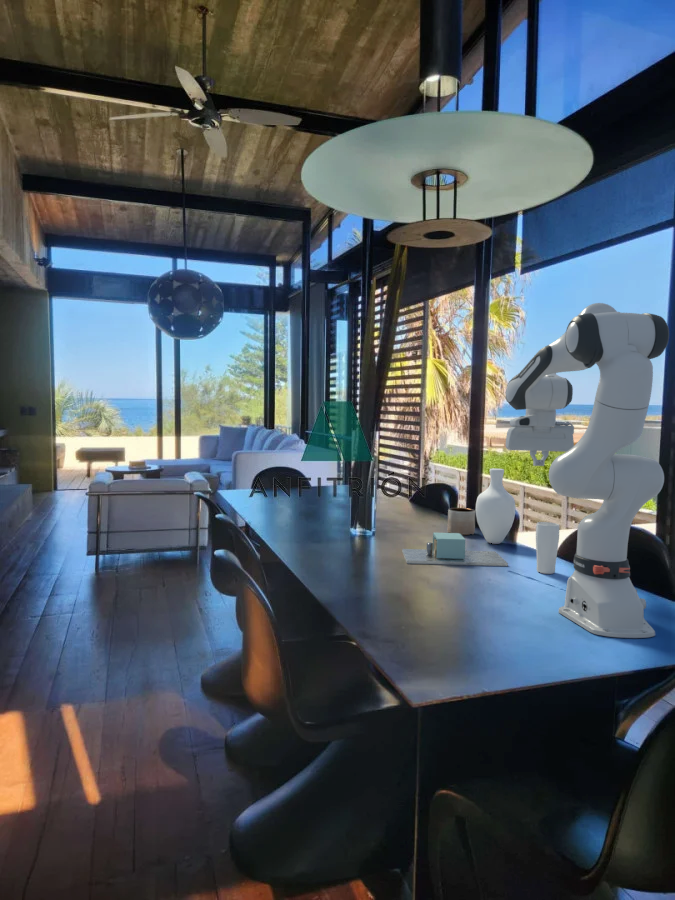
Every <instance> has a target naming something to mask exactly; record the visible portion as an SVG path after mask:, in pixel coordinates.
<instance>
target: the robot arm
mask: <svg viewBox="0 0 675 900" xmlns="http://www.w3.org/2000/svg"><path fill="white" fill-rule="evenodd" d="M669 339H670V328H669V325H668V323H667V322H666V320H665V319H664V318H663V317H662V316H661V315H659V314H658V315H657V314H654V313H648V312H645V313H637V312H620V311H617V310H616V309H615V308H614V306H612V305H609V304H608V303H603V302H596V303H592V304H589V305H588V306H586V307H584V308H583V310H582V311H580V312H579V313H578V314H577V315H576V316H574V317H573V318H572V319H570V321H569V323H568V324H567V327H566V331H565V332H564V333H563V334H562V335H561V336H560V337H558V338H557V339H556V340H554V341H553V342H551V343H549V344H548V345H546V346H544V347H542V348H540V350H538V351H537V352H536V353H535V354H534V356H533V357H532V358H531V359H530V360H529V362H528V363H527V364H526V365H524V367H523V368H522V369H521V370H520V372H519V373H518V374H516V375H514V376H513V377H512V378H511V379H510V380H509V381H508V383H507V385H506V390H505V399H506V402H507V403H508V405H509V406H510V407H512V408H513V409H515V411H521V410H523V411H525V415H522V416H519V417H515V418H512V419H510V420H509V425H510V426H511V427H510V426H509V428H508V429H507V433H506V436H505V437H506V438H505V448H506V449H507V450H508V451H522V452H523V451H529V456H530V457H531V459H532V461H533V462H532V463H533V464H532V466H533V467H545V464H546V463H545V461H546V459H547V458H548V457H549V454H550V453H549V452H564V453H561V454H559V455H558V456H557V457H555V459H554V460H553V461H552V463H551V464H550V466H549V471H548V480H549V484H550V486H551V488H552V489H553V491H555V493H556V494H558V495H561V496H564V497H569V498H572V499H573V498H574V499H579V500H582V499H583V500H603V501H602V504H601V506H600V507H599V509H598V510H597V511H595V512H593V513H590V514H588V515H586V516H584V517H583V518H582V519H581V520H580V522H579V523H578V525H577V538H576V539H577V540H576V552H575V554H574V557H573V568H574V571H573V573H572V574H571V575H570V576H569V577H568V579H567V583H566V590H565V597H564V598H565V599H564V606H563V605H562V606H560V607H559V608H558V613H559V614H560V615H562V616H564V617H565V618H567V619H568V620H570V621H572V622H573V623H576V625H579V627H581V628H582V629H583V628H584V629H585V630H586V631H587V632H590V633H591V634H594V635H598V636H604V637H611V638H622V639H623V638H625V639H642V638H644V639H645V638H651V637H652V638H653V637H655V636H656V631H655V630H654V628H653V627H652V626H651V625H650V624H649V623H648V622H647V621H648V620H646V619H645V617H644V613H645V612H644V610H645V609H647V601H646V599H645V598H640V597H639V595H638V589H636V588H635V586H634V584H633V583H632V580H631V578H630V577H631V571H630V570H631V566H630V564H629V559H628V558H627V557H628V545H629V544H628V543H629V537H630V530H631V526H632V524H633V521H634V518H635V517H636V515H637V514H638V512H639V511H640V509H641V508H643V506H644V505H645V504H646V503H648V502H650V501H651V500H652V499H653V498H655V497H657V495H659V494H660V492H661V490H662V489H663V486H664V483H665V473H664V470H663V468H662V466H661V464H660V463H659V462H658V461H657V459H655V458H651V457H648V456H643V455H639V454H628V453H627V454H626V453H624V454H623V453H617V452H619V451H620V450H622V449H623V448H626V447H628V446H630V445H632V444H634V443H635V442H637V441H638V440H639V439H640V437H641V436H642V434H643V431H644V427H645V422H646V418H647V413H648V411H649V410H648V409H649V406H650V401H651V396H652V391H653V390H652V389H653V376H654V375H653V374H654V371H653V369H654V367H653V363H652V360H653V359H655V358H656V359H657V358H658V357H660V356H661V355H662V354H663V353H664V352H665V350H666V348H667V346H668V344H669ZM651 359H652V360H651ZM595 365H597V367H598V370H599V381H598V384H597V388H596V393H595V397H594V402H593V408H592V411H591V415H590V419H589V422H588V425H587V428H586V430H585V432H584V433H583V435H582V436H581V438H580V439H579V440H578V441H577V443H575V444H574V442H575V441H574V440H575V439H574V433H575V426H574V425H573V423H571V422H569V421H556V420H557V419H556V418H557V411H556V410H561V409H565V408H566V407H568V406H569V404H571V403H572V400H573V393H574V391H573V390H574V388H573V385H572V383H571V382H570V381H569V379H568V378H566V377H562V376H559V375H558V373H567V372H569V373H570V372H578V371H579V372H580V371H584V370H588V369H591V368H592V367H594V366H595ZM538 452H541V455H542V457H541V458H540V459H538V458H537V457H536V455H537V453H538Z"/></svg>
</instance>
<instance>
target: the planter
mask: <svg viewBox="0 0 675 900" xmlns="http://www.w3.org/2000/svg"><path fill="white" fill-rule="evenodd" d="M447 511H448V512H447V526H446V527H447V533H460V534H461V535H462V536H471V535H470V534H472V535H474V534H475V532H476V531H475V530H476V528H475V527H476V509H472V508H467V507H451V508H450V507H449V508H448V510H447Z"/></svg>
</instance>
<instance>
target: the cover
mask: <svg viewBox="0 0 675 900" xmlns="http://www.w3.org/2000/svg"><path fill="white" fill-rule="evenodd" d="M434 539H436V540H437V558H454V559H465V551H466V542H467V541H466V538H465V537H464V535H461V534H460V533H449V532H432V543H433V551H434Z"/></svg>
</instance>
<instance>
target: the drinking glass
mask: <svg viewBox="0 0 675 900" xmlns="http://www.w3.org/2000/svg"><path fill="white" fill-rule="evenodd" d="M559 542H560V524H559V523H556V522H550V521H537V522H536V525H535V551H536V572H538V573H539V572H540V573H539V574H545V575H552V574H555V573H556V562H557V557H558V548H559Z"/></svg>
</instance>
